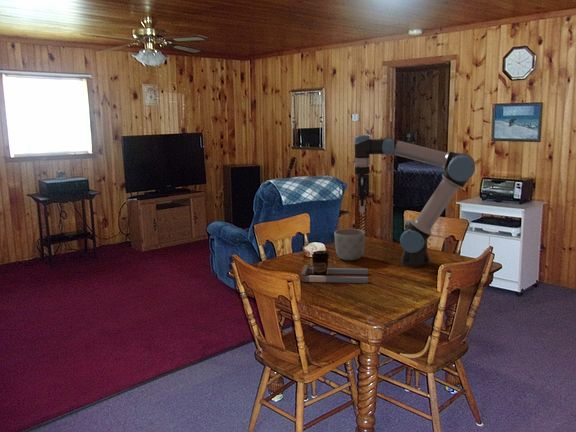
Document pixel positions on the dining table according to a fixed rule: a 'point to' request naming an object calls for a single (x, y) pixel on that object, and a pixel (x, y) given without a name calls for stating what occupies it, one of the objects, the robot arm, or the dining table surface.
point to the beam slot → (334, 278)
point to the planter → (349, 243)
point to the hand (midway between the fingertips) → (362, 211)
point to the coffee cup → (320, 263)
